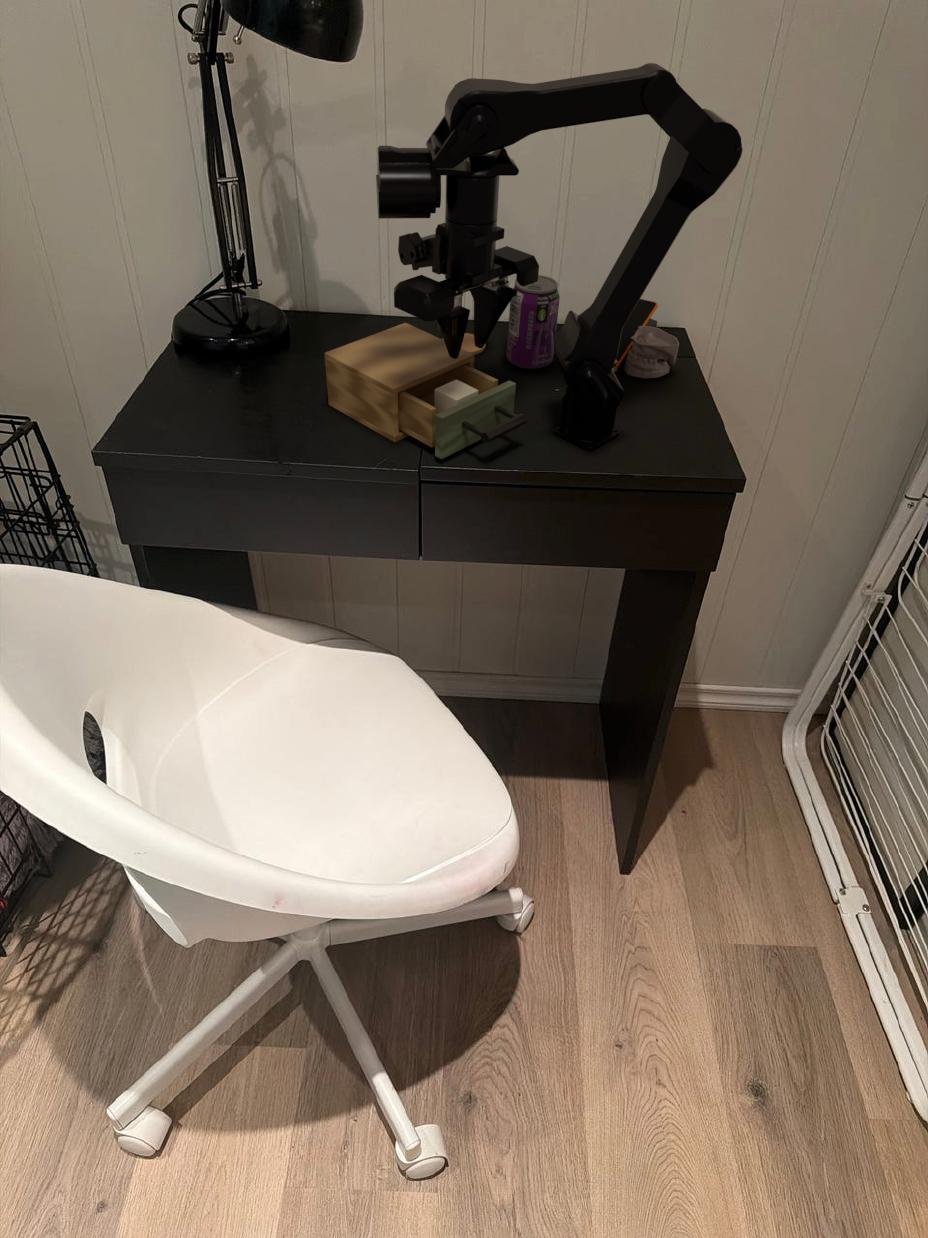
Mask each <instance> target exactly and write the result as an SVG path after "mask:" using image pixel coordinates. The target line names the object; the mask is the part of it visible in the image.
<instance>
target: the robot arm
mask: <svg viewBox="0 0 928 1238" xmlns="http://www.w3.org/2000/svg"><path fill="white" fill-rule="evenodd" d="M645 115H646V116H647V115H648V116H649V117H650V118H651V119H652V120H653V121H654V122H655V123H656V124H657V126H658V127H659V128H660V129H661V130H662V131H663V132H664V133H665V134H666V135H667V136H668V137H669V140H668V142H667V145H666V148H665V150H664V152H663V155H662V159H661V163H660V169H659V171H658V176H657V177H658V178H657V183H656V187H655V190H654V193H653V195H652V196H651V199H650V200H649V202H648V203H647V205H646V208H645V209H644V211H643V213H642V214H641V216H640V218H639V220H638V221H637V224H636V225H635V227H634V229H633V230H632V232H631V234H630V236H629V238H628V239H627V241H626V243H625V245H624V247H623V248H622V250H621V252H620V254H619V255H618V257H617V259H616V261H615V263H614V265H613V266H612V268H611V269H610V272H609V274H608V275H607V277H606V279H605V280H604V282H603V284H602V285H601V288H600V290H599V291H598V293H597V295H596V297H595V299H593V302H592V303H591V304H590V306H589V307H588V308H586V309H585V310H584V311H583V312H581V313H579V314H577V313H576V312H574V310H569V311H568V313H567V314H566V317H565V320H564V322H563V324H562V327H561V328H560V329H559V331H557V332H556V335H555V336H554V339H555V346H554V358H555V361H556V365H557V366H558V368H559V371H560V373H561V375H562V377H563V379H564V382H565V384H566V385H567V386H566V387H565V394H564V395H563V396H562V399H561V400H562V401H561V408H560V414H559V415H560V416H559V424H560V425H559V426H557V427H555V428H554V429H553V434H554V435H556V436H558V437H560V438H562V439H564V440H565V441H568V442H570V443H572V444H574V445H576V446H578V447H580V448H583V449H584V450H585V451H594V450H596V449H597V448H599V447H601V446H603V445H604V444H606V443H608V442H610V441H611V440H613V439H616V437H619V435H620V431H619V430H618V429H617V428H614V427H615V422H616V416H617V411H618V408H619V406H620V404H621V402H622V400H623V398H625V397H624V396H625V395H626V391H625V390H624V388H623V386H622V385H621V382H620V381H619V379H618V377H617V375H616V374H615V372H613V370H612V368H613V365H614V363H615V360H616V358H617V355H618V350H619V345H620V340H621V335H622V330H623V327H624V325H625V323H626V322H627V320H628V318H629V316H630V315H631V313H632V311H633V310H634V308H635V306H636V305H637V303H638V301H639V300H640V299H642V297H643V295H644V293H645V291H646V290H647V288H648V287H649V285H650V283H651V282H652V280H653V278H654V277H655V274H656V272H657V271H658V270H659V268H660V266H661V264H662V263H663V261H664V259H665V257H666V256H667V254H668V252H669V251H670V249H671V248H672V245H673V244H674V242H675V240H676V239H677V237H678V235H679V234H680V232H681V231H682V229H683V227H684V225H685V224H686V222H687V220H688V219H689V218H690V216H691V214H693V212H694V211H695V210H697V209H698V208H699V207H700V206H702V205H703V204H704V203H705V202H707V201H708V200H709V199H710V198H712V197H713V196H714V195H715V194H716V193H717V192H718V191H719V189H720V188H721V187H722V185H724V184H725V182H726V181H727V179H728V178H729V177H730V176H731V175H732V173H733V172H734V171H735V169H736V168H737V166H738V165H739V162H740V160H741V158H742V156H743V155H742V154H743V143H742V136H741V134H740V132H739V130H738V129H737V128H736V127H735V126H734V125H733V124H731V123H730V122H729V121H727V120H726V119H725V118H723V117H722V116H720V115H719V114H717V113H716V112H715V111H713V110H710V109H707V108H702V107H701V106H700V105H699V104H698V103H697V102H696V101H695V100H694V99H693V98H692V97H691V96H690V95H689V93H687V92H686V91H685V90H684V89H683V87H682V86H681V85H680V84H679V83H678V81H677V78H676V77H675V75H674V74H673V72H670V70H667V69H666V68H664V67H663V66H662V65H660V64H657V63H656V62H655V63H654V62H652V63H651V62H647V63H645V64H643V65H641V66H639V67H633V68H628V69H619V70H614V71H607V72H600V73H595V74H588V75H581V76H575V77H574V76H573V77H569V78H562V79H555V80H548V81H542V82H535V83H527V82H526V83H525V82H518V81H517V82H516V81H511V80H505V79H496V78H495V79H492V78H474V77H473V78H466V79H463V80H460V81H459V82H457V83H456V84H454V86H453V87H452V88H451V90H450V91H449V94H448V95H447V96H446V100H445V103H444V114H443V117H442V119H440V122H439V123H438V125H437V126H436V127H435V129H434V130H433V131H432V133H431V134H430V136H429V138H428V139H427V141H426V142H425V146H426V147H396V146H392V145H379V146H378V147H377V174H375V183H376V184H375V188H376V207H377V217H378V219H379V220H380V219H382V220H383V219H387V220H388V219H389V220H391V219H431V215H432V214H437V209H440V208H441V204H442V176H445V209H444V211H445V213H444V214H445V216H444V218H445V219H444V222H443V223H439V224H437V225H436V228H435V229H434V230H435V231H434V232H435V233H433V234H429V235H425V236H421V235H420V233H419V232H418V231H415V232H412V233H411V232H410V233H405V234H402V235H399V236H398V246H397V247H398V248H397V253H398V257H399V261H400V263H401V264H402V265H403V266H410V265H411V269H412V271H419V269H422V268H429V267H431V272H432V273H434V274H436V275H444V279H443V280H440V281H438V280H436V279H433V278H431V277H428V276H426V275H423V274H420V275H416V276H413V277H410V278H407V279H404V280H401V281H399V282H398V283H397V284H396V285H395V287H393V307H394V308H395V309H398V310H400V311H402V312H405V313H407V314H409V315H411V316H413V317H415V318H418V319H420V320H423V321H425V322H436V323H437V326H438V327H439V330H440V334H441V337H442V338H443V339H444V342H445V345H446V348H447V351H448V354H449V356H450V357H451V358H453V359H457V358H458V356H459V353H460V350H461V347H462V342H463V338H464V334H465V333H466V329H467V325H468V321H469V317H470V314H471V309H470V308H467V307H464V306H463V296H464V293H467V292H470V295H471V297H472V300H473V334H474V342H475V346H476V347H478V348H483V347H484V345H485V343H487V342H488V340H489V339H490V336H491V334H492V332H493V331H494V328H495V327H496V325H497V323H498V322H499V321H500V318H501V317H502V315H503V313H504V312H505V311H506V309H507V307H508V306H509V305H510V301H511V299H512V298H513V297H514V296H516V295H517V290H516V289H513V288H514V287H511V286H510V281H509V277H510V276H512V275H516V279H515V280H516V281H517V282H518V283H519V284H520V285H521V286H523V287H524V286H527V285H529V284H532V283H535V282H537V281H538V275H539V272H540V264H539V263H538V261H537V259H536V257H535V255H533V254H530V253H527V252H524V251H522V250H519V249H517V248H514V247H511V246H508V245H505V246H503V247H499V248H497V246H496V245H497V242H498V241H500V240H503V239H504V238H505V228H504V227H500V226H498V211H499V210H498V209H499V195H500V193H499V191H500V177H501V176H507V177H509V176H512V177H514V176H518V174H519V173H520V169H519V167H518V166H517V164H516V163H515V160H514V159H513V158H511V157H510V155H509V154H508V151H507V149H506V148H507V147H510V146H512V145H515V144H516V143H518V142H520V141H521V140H523V139H525V138H527V137H528V136H531V135H533V134H536V133H539V132H541V131H542V132H543V131H547V130H548V131H549V130H555V129H562V128H568V127H573V126H581V125H588V124H593V123H600V122H607V121H612V120H619V119H620V120H621V119H624V118H625V119H626V118H631V117H638V116H639V117H640V116H645ZM496 248H497V249H496ZM485 346H486V345H485Z"/></svg>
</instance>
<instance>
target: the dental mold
mask: <svg viewBox="0 0 928 1238" xmlns="http://www.w3.org/2000/svg"><path fill="white" fill-rule="evenodd" d="M631 339H632V348H631V350H629V351H628V353H627V356H626V360H625V363H624V368H623V371H624V372H625V374H626V375H627V376H631V377H634V378H640V379H657V378H661V377H663V376H665V375H667V374H669V373H670V370H671V369H670V368H671V366H670V365H669V364H668V361H669V362H670V363H671V365H672V366H675V365H676V361H677V357H678V351H679V347H680V342H679V341H678V338H677V336H675V335H672V334H670V333H668V332H666V331H664V330H662V329H661V328H658V327H650V326H639V327H638V330H637V331H636V333H635V335H634V336H633V337H631Z"/></svg>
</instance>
